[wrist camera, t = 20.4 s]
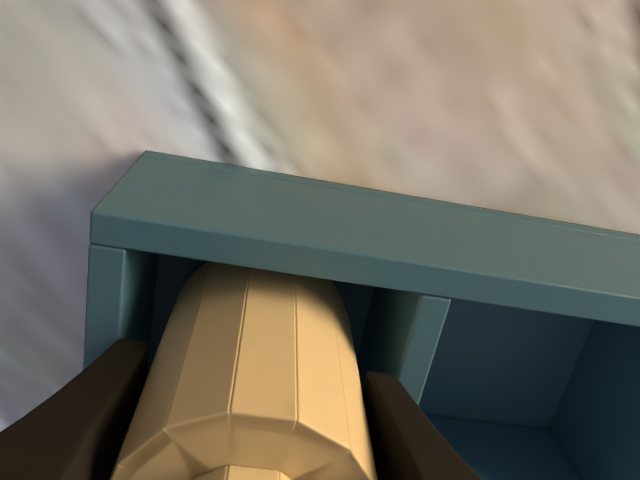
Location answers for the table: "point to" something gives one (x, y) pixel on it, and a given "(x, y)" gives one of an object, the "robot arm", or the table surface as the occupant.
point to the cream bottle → (251, 385)
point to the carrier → (405, 302)
